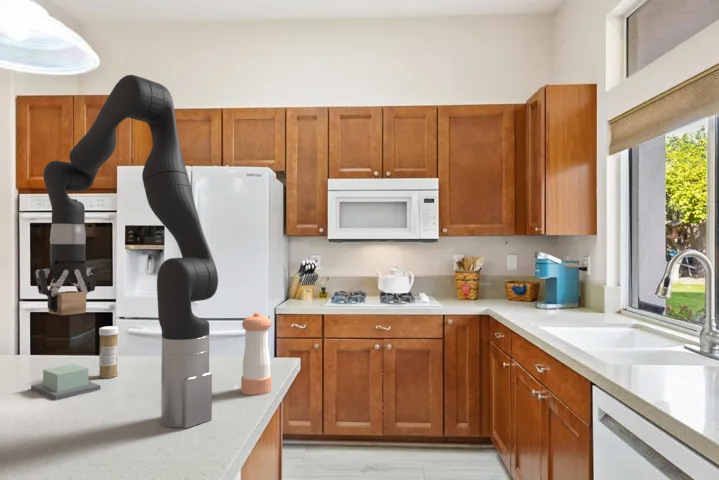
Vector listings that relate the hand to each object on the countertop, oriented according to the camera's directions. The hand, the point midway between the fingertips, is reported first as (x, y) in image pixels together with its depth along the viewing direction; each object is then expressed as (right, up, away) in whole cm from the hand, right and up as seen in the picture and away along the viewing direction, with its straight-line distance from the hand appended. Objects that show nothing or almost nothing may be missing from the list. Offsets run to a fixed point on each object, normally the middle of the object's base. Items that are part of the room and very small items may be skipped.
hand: (67, 310), depth 119 cm
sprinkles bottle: (+4, -20, +11) cm, 23 cm away
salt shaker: (+47, -20, -1) cm, 51 cm away
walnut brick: (0, -1, 0) cm, 1 cm away
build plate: (0, -20, 0) cm, 20 cm away
